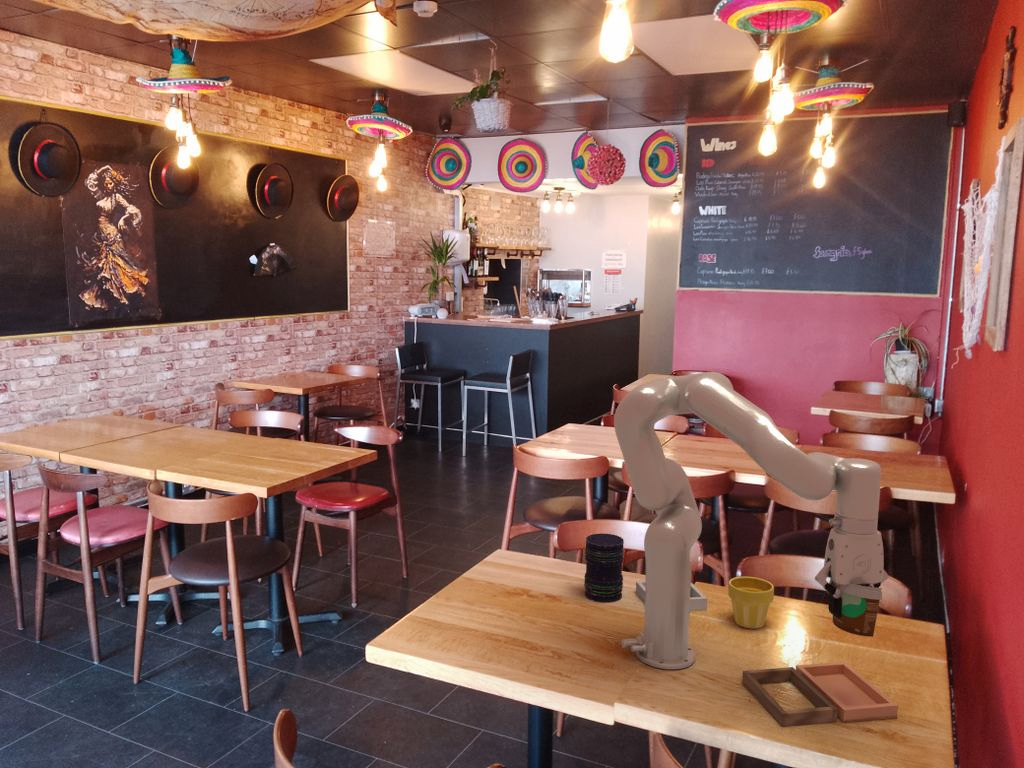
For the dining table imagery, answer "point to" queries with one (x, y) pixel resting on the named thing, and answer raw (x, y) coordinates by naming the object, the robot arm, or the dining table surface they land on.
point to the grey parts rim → (696, 600)
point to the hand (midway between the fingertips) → (849, 613)
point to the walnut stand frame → (801, 716)
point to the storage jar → (604, 568)
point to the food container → (858, 609)
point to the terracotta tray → (849, 692)
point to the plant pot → (750, 600)
